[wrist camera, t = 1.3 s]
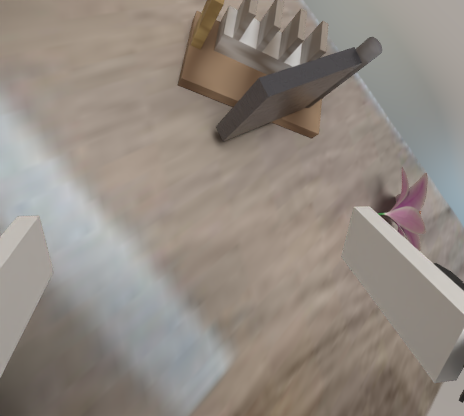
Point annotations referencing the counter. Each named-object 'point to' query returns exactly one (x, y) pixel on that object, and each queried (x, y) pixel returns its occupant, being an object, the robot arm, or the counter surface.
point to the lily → (410, 209)
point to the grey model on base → (256, 55)
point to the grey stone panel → (286, 92)
